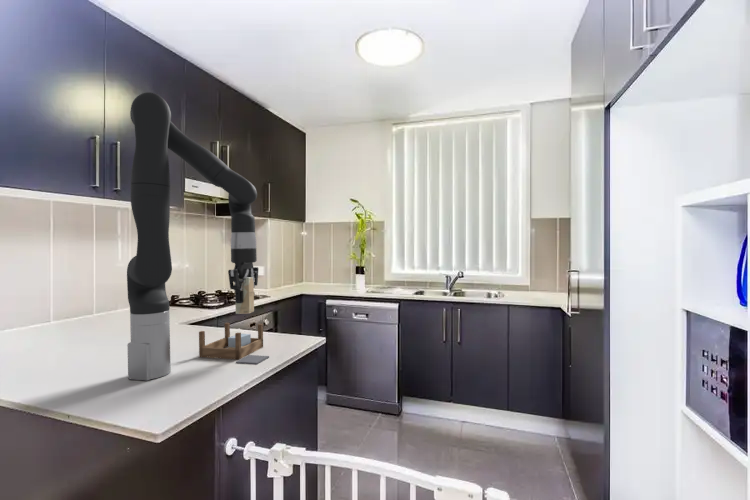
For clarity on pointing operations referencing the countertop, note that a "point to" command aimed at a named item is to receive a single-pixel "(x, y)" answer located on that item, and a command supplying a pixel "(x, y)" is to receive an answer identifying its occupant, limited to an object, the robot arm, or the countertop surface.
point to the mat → (252, 359)
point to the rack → (218, 349)
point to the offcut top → (244, 340)
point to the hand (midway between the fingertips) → (244, 301)
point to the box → (246, 298)
